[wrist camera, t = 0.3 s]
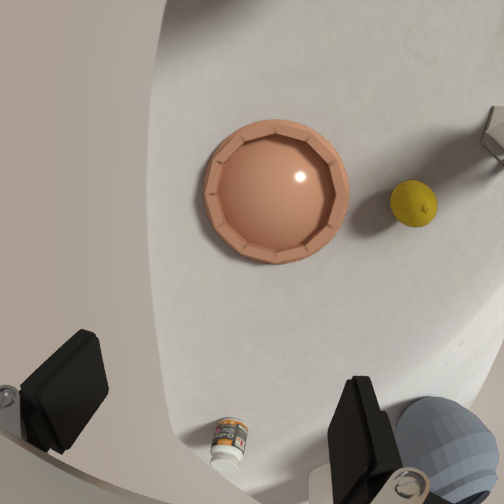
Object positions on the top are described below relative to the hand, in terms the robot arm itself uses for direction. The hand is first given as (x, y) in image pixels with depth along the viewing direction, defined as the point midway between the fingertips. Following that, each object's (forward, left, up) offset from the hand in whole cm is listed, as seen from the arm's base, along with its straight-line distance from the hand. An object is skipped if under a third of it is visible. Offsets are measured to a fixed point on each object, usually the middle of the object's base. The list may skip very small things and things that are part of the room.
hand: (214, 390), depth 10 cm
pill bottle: (+38, +4, -30) cm, 48 cm away
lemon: (-8, +16, -30) cm, 35 cm away
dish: (-4, 0, -30) cm, 30 cm away
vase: (+26, +38, -30) cm, 55 cm away
